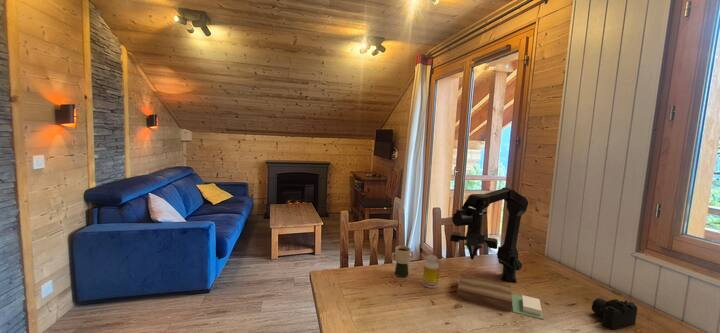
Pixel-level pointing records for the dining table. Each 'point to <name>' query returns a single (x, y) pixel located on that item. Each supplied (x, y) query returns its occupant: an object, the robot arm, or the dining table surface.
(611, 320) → the film camera
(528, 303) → the white rectangular block
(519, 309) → the mat
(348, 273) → the dining table surface
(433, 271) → the supplement bottle
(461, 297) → the deck
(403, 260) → the character mug
